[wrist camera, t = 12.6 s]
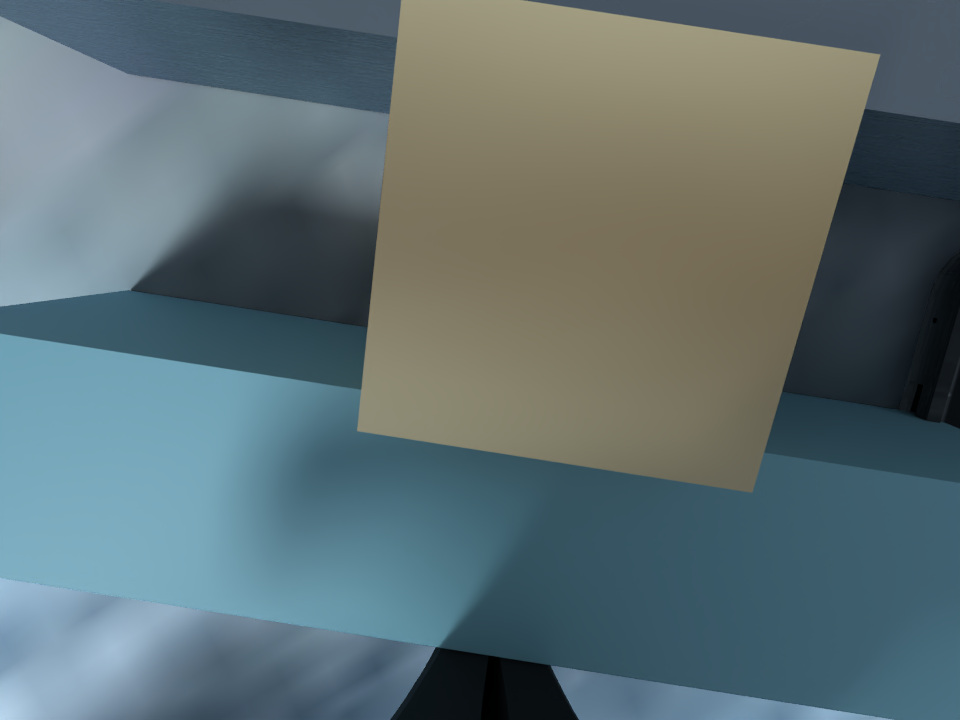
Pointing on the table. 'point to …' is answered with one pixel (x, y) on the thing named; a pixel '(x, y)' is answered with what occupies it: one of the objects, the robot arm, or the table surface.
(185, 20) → the vise
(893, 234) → the table surface
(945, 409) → the phone
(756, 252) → the oak block
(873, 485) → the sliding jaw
